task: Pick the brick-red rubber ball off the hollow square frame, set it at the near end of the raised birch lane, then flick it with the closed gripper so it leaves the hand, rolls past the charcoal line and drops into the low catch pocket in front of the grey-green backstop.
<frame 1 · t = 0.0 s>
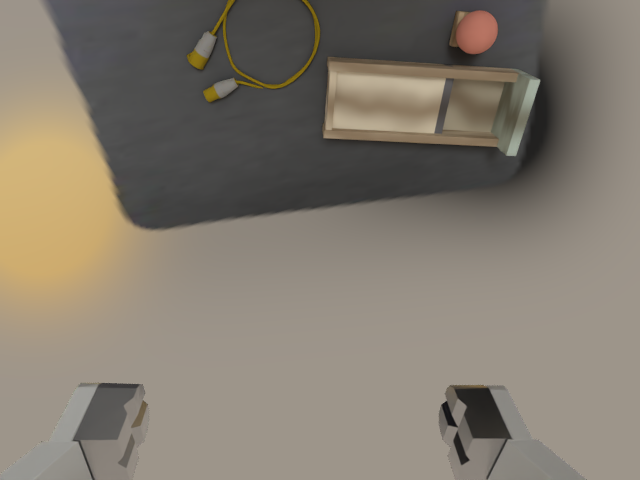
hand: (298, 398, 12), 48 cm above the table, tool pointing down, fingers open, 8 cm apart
ball: (476, 32, 49), point 3 cm above the table, touching hollow square frame
extension cord: (253, 41, 52), on the table
lane: (412, 100, 55), on the table
hollow square frame: (467, 29, 51), on the table
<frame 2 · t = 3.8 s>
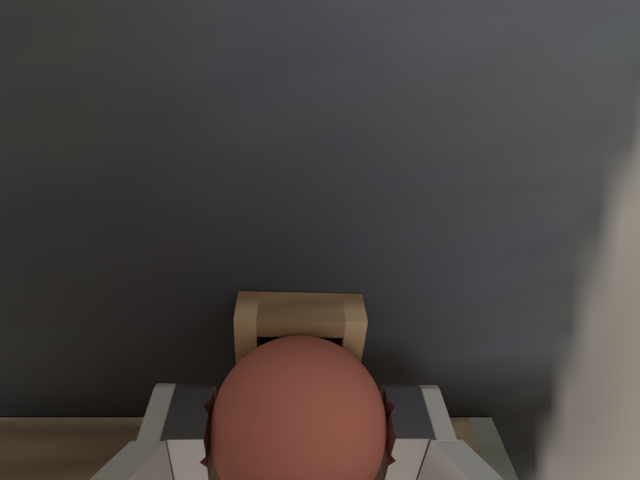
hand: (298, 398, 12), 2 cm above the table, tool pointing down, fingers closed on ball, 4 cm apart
ball: (299, 424, 11), point 3 cm above the table, touching gripper, hollow square frame
hollow square frame: (298, 337, 14), on the table
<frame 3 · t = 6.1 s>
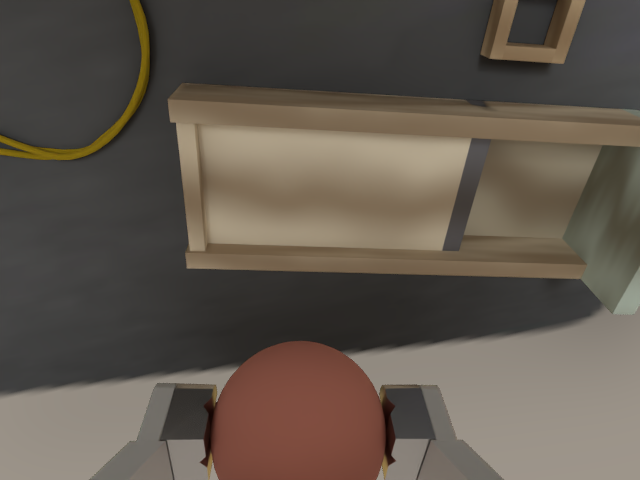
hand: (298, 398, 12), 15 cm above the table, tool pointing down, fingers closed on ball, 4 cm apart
ball: (299, 429, 11), point 16 cm above the table, touching gripper
lane: (393, 177, 25), on the table
hollow square frame: (527, 15, 20), on the table
when the fingers open (4 cm above the table, at t = 8.2 s): ball drops 1 cm, resting on lane.
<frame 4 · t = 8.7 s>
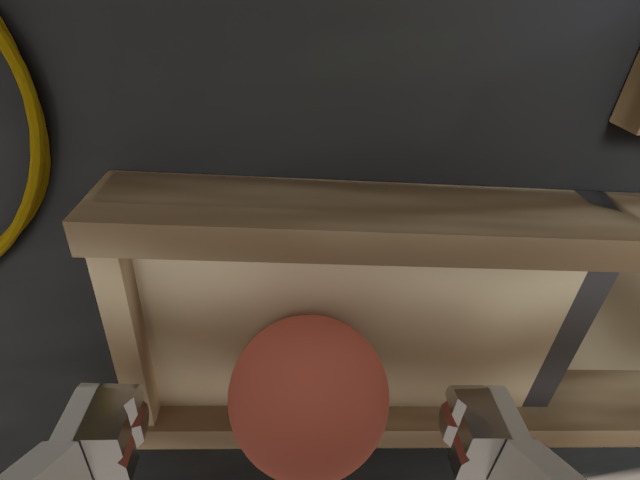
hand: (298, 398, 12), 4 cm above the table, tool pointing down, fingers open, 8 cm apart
ball: (308, 395, 12), point 4 cm above the table, tilted 9°, touching lane
lane: (448, 298, 16), on the table
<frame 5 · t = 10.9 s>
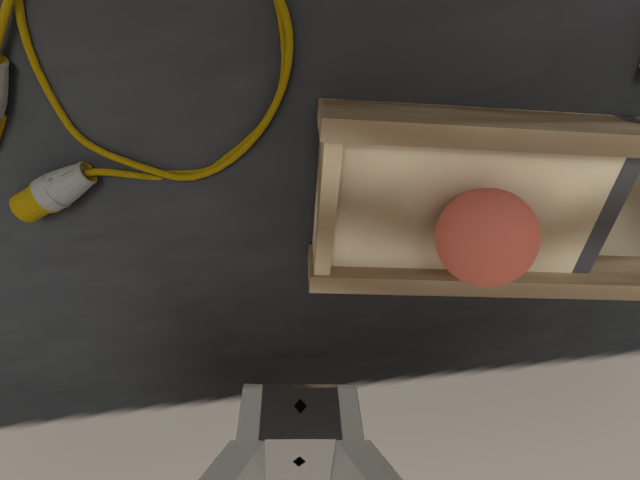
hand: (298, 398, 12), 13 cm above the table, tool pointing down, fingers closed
ball: (485, 237, 19), point 4 cm above the table, tilted 51°, touching lane
extension cord: (120, 68, 19), on the table
lane: (522, 195, 23), on the table
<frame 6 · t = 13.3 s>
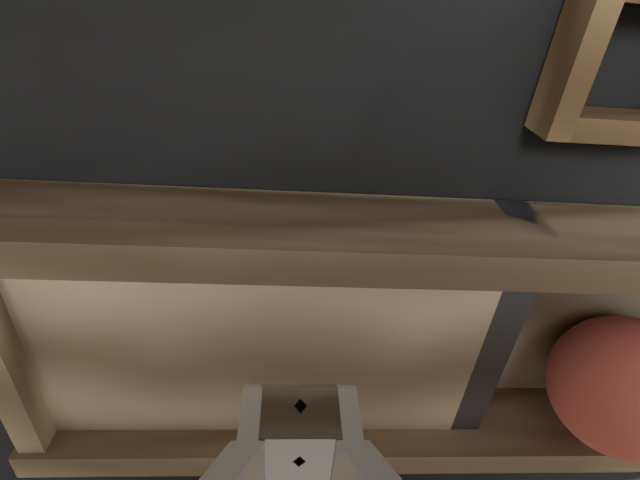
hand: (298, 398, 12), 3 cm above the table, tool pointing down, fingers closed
ball: (623, 385, 14), point 2 cm above the table, tilted 9°, touching lane
lane: (370, 313, 15), on the table
hollow square frame: (617, 57, 11), on the table
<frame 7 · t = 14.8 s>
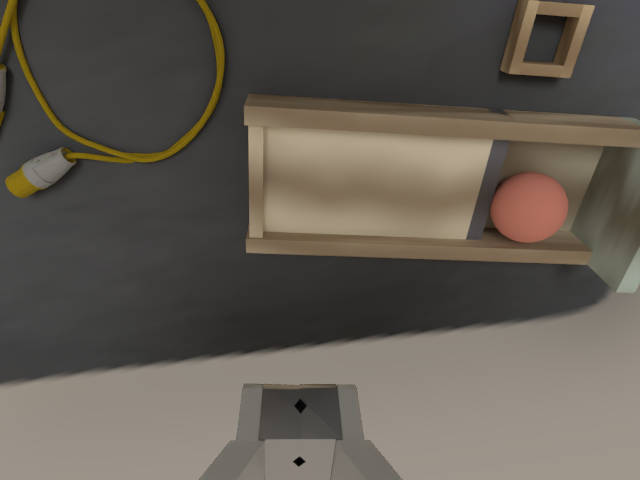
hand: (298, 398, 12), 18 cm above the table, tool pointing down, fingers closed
ball: (527, 207, 27), point 2 cm above the table, tilted 52°, touching lane
extension cord: (93, 73, 25), on the table
lane: (423, 175, 28), on the table
hollow square frame: (539, 38, 24), on the table
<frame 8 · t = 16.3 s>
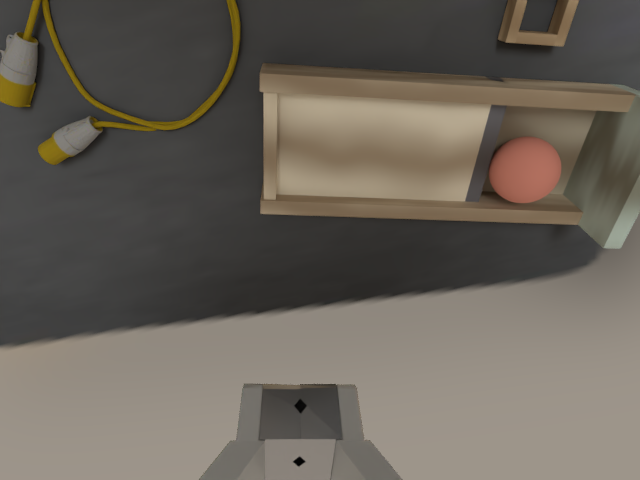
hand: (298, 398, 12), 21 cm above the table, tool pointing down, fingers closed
ball: (523, 170, 29), point 2 cm above the table, tilted 50°, touching lane
extension cord: (117, 45, 27), on the table
lane: (425, 141, 30), on the table
hollow square frame: (535, 8, 26), on the table
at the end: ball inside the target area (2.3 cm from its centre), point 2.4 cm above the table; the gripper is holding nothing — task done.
